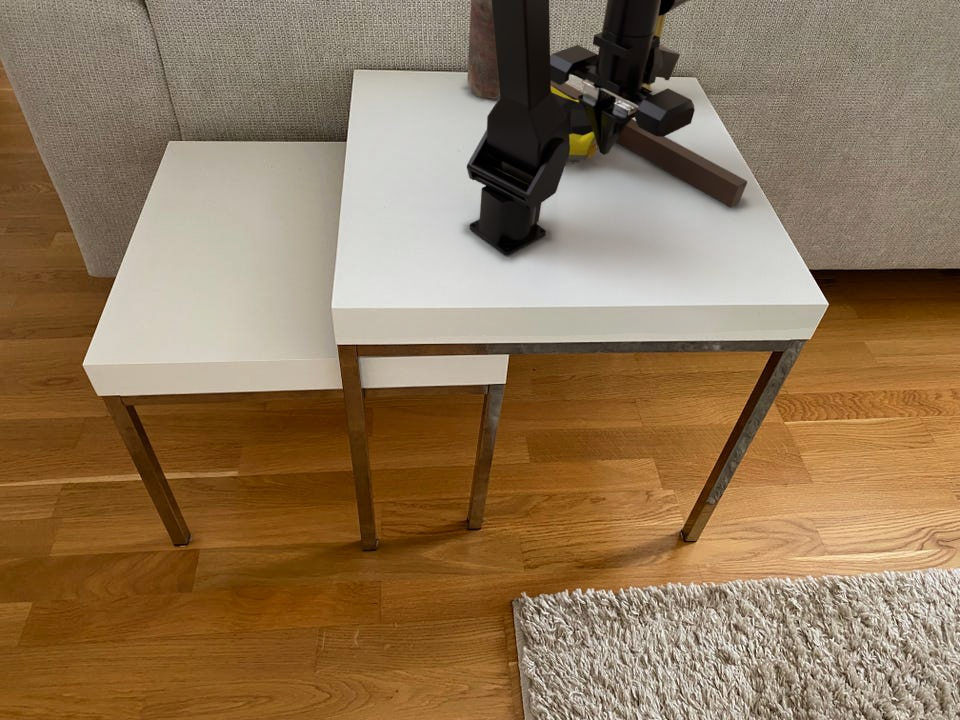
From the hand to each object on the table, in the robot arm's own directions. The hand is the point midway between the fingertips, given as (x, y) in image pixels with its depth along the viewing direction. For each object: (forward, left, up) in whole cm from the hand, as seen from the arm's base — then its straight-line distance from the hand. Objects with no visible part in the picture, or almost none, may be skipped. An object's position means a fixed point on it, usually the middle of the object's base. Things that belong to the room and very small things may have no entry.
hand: (604, 153), depth 89 cm
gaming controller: (0, +8, -2) cm, 8 cm away
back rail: (+7, +1, -2) cm, 8 cm away
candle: (+3, +24, -2) cm, 25 cm away
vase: (+19, +11, -2) cm, 22 cm away
